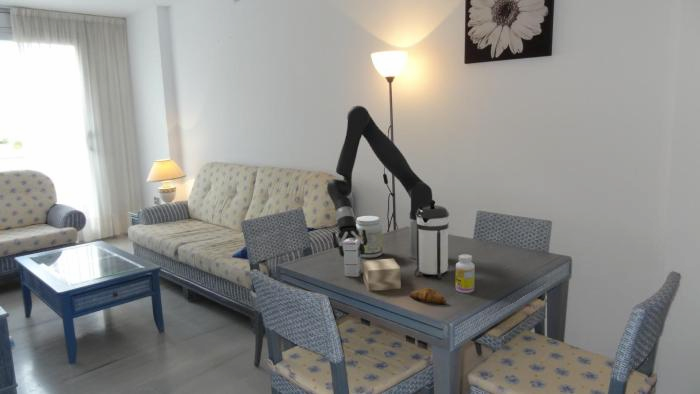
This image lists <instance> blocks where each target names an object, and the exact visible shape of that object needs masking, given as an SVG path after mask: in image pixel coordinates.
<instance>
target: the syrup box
mask: <svg viewBox="0 0 700 394" xmlns="http://www.w3.org/2000/svg"><path fill="white" fill-rule="evenodd" d="M343 251H344V257H343V263H344V264H343V266H344V268H343V269H344V276H345V277H353V278H354V277H355V278H357V277H358V278H359V276H360V275H361V273H362V266H361V265H362V262H361V261H362V257H360V239H359V238H347V239H345V240H344V242H343Z"/></svg>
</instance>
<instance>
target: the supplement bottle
mask: <svg viewBox="0 0 700 394" xmlns="http://www.w3.org/2000/svg"><path fill="white" fill-rule="evenodd" d="M472 261H473V256H472V255H471V254H467V253H465V254H463V253H462V254H460V255H458V262H456V264H455V290H456V291H457V292H459V293H461V294H468V293H473V292H474V291H475V270H476V268H475V267H476V266H475V263H473V262H472Z"/></svg>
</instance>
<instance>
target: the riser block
mask: <svg viewBox="0 0 700 394" xmlns="http://www.w3.org/2000/svg"><path fill="white" fill-rule="evenodd" d="M362 271H363V272H362V273H363V274H362V275H363V277H362V279H363V283H364V284H365V286H366V289H367V291H368V292H371V291H374V290H375V291H384V290H399V289H401V287H402V285H401V279H402V278H401V267H400V266H399V265H398V263H397V262H396V260H395V259H394V258H380V259H367V260H362Z"/></svg>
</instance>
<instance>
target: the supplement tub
mask: <svg viewBox="0 0 700 394" xmlns="http://www.w3.org/2000/svg"><path fill="white" fill-rule="evenodd" d="M355 222H356V227H357V230H358V231H363V230H365V231H366V236H367V240H368V242H367V245H364V249H365V252H364V254H363V255H361V251H360V258H364V259H371V258H372V259H373V258H378V257H379V256H381V255H383V227H382V224H381V219H380V217H379V216H375V215H363V216H358V217H356V220H355ZM358 237H359V238H360V239H361V240H362V241H363V238H362V237H361V236H360V234H359V235H358Z"/></svg>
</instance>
